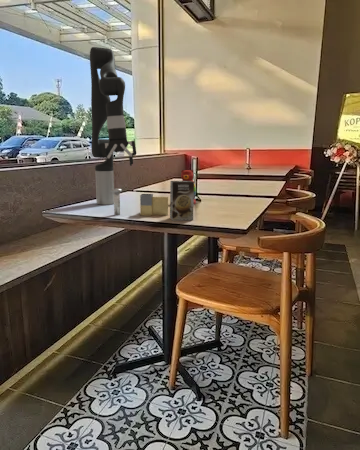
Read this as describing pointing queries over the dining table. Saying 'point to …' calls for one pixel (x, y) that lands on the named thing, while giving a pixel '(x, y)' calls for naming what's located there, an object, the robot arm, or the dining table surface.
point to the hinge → (153, 205)
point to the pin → (116, 200)
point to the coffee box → (181, 200)
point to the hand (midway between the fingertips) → (120, 166)
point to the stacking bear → (188, 179)
